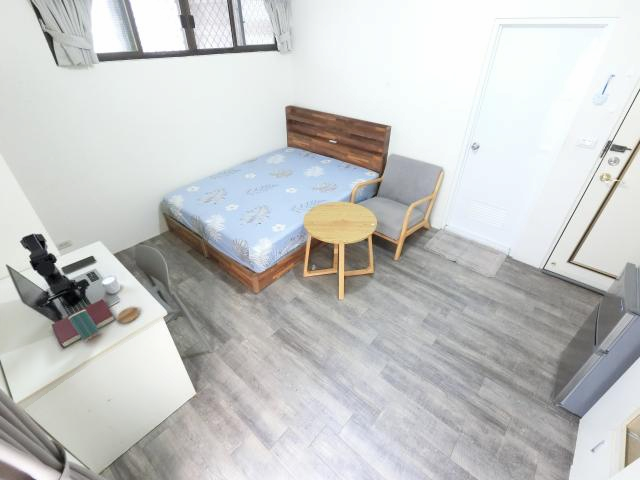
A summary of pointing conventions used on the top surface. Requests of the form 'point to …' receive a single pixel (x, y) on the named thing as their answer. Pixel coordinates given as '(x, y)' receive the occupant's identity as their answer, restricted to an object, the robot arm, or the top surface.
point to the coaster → (128, 315)
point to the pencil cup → (84, 325)
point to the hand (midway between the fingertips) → (74, 309)
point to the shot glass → (111, 284)
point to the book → (68, 332)
